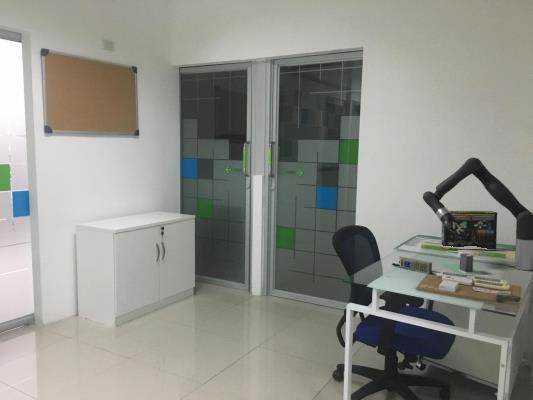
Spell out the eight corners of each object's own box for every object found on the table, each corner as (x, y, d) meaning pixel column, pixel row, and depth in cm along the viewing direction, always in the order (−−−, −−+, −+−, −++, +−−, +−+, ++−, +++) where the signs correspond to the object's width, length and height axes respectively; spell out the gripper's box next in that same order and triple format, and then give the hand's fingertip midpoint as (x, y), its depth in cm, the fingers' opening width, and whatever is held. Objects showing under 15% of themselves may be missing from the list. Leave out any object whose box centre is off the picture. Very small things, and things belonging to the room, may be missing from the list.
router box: (491, 248, 326) (493, 210, 324) (497, 251, 315) (499, 212, 313) (439, 246, 332) (440, 210, 329) (443, 249, 321) (444, 211, 318)
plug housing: (459, 269, 255) (460, 253, 255) (466, 269, 256) (466, 253, 255) (466, 272, 249) (466, 256, 248) (472, 272, 249) (473, 255, 249)
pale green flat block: (438, 266, 269) (439, 258, 268) (461, 265, 270) (461, 257, 270) (458, 275, 247) (459, 266, 246) (483, 275, 248) (483, 265, 248)
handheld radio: (428, 274, 250) (390, 266, 269) (432, 274, 252) (394, 266, 272) (429, 262, 250) (391, 255, 269) (432, 262, 252) (394, 254, 271)
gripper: (443, 209, 269) (459, 229, 258) (456, 214, 278) (472, 234, 267) (434, 218, 273) (449, 238, 262) (447, 223, 281) (462, 242, 270)
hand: (461, 236), depth 264 cm, fingers open, 8 cm apart
